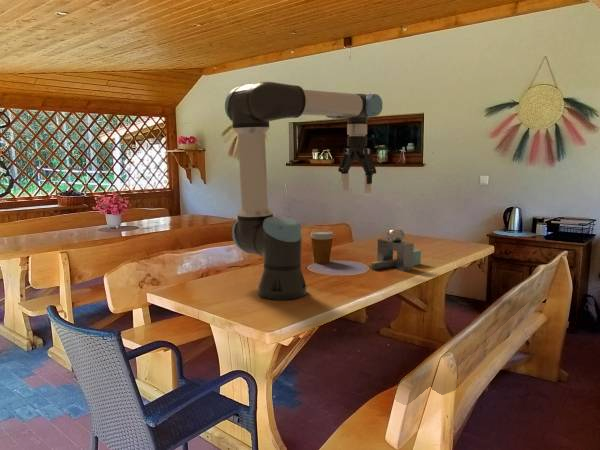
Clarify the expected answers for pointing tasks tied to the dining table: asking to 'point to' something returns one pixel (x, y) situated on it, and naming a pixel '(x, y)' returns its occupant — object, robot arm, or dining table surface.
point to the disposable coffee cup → (321, 245)
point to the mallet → (394, 262)
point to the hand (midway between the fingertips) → (356, 191)
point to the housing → (398, 245)
